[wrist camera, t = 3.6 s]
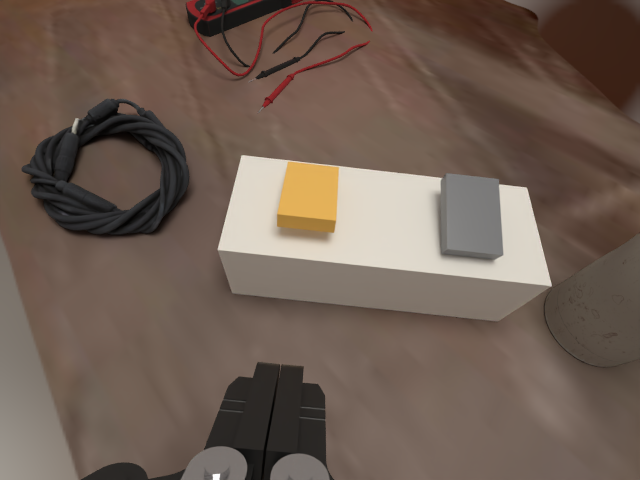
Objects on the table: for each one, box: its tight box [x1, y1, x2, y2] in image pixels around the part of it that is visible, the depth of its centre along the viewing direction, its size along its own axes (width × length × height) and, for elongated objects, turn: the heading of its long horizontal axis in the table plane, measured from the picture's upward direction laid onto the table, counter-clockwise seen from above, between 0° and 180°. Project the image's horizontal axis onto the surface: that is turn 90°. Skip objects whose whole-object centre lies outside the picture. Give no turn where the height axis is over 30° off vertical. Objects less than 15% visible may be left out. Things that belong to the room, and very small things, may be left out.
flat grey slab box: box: [441, 173, 503, 260], centre depth 28 cm, size 4×6×2 cm, turn 175°
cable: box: [22, 99, 189, 235], centre depth 37 cm, size 17×14×4 cm
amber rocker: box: [277, 161, 339, 233], centre depth 28 cm, size 4×6×2 cm, turn 175°
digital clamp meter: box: [186, 0, 372, 114], centre depth 52 cm, size 23×4×25 cm
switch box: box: [218, 155, 552, 321], centre depth 32 cm, size 24×9×8 cm, turn 85°
